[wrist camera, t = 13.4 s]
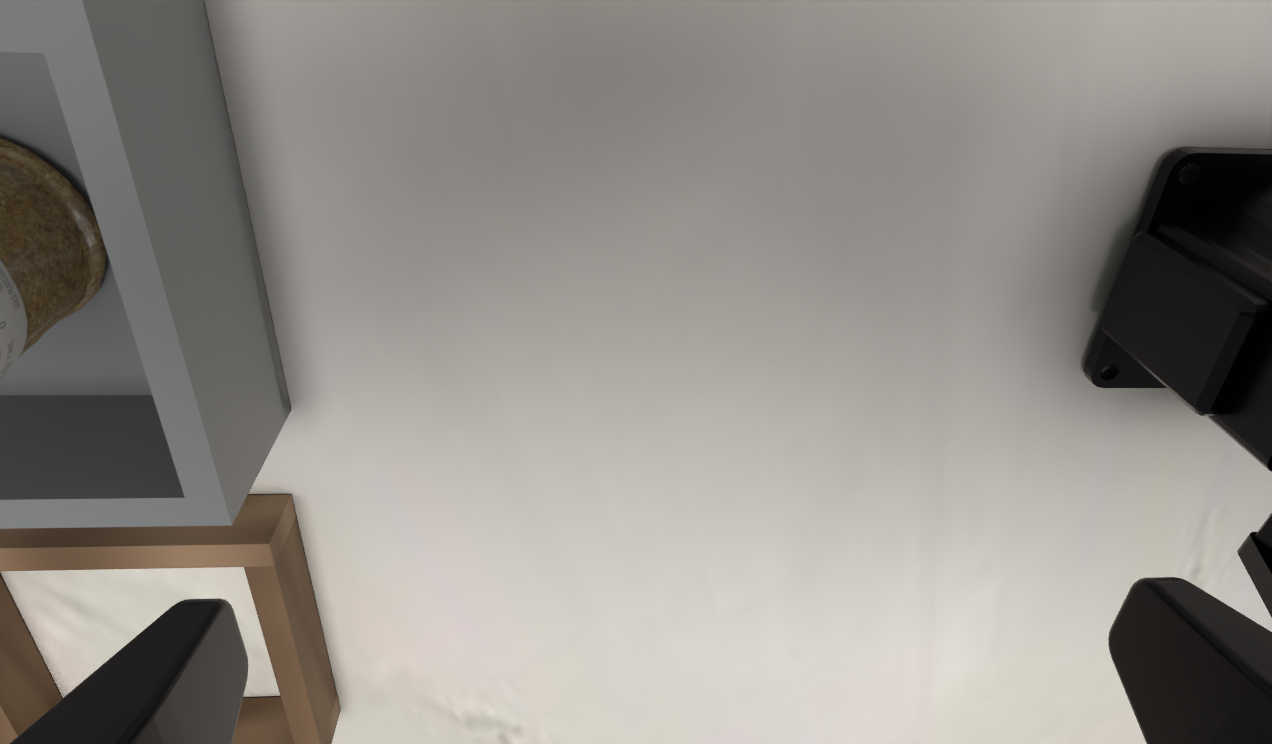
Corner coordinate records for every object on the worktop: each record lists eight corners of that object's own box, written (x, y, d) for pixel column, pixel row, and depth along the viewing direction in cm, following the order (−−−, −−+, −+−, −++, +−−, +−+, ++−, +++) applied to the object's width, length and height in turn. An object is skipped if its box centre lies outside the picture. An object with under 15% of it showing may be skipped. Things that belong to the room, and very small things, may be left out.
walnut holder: (291, 494, 23) (269, 544, 22) (340, 710, 28) (325, 764, 27) (-70, 498, 23) (-122, 550, 21) (46, 719, 28) (12, 775, 26)
